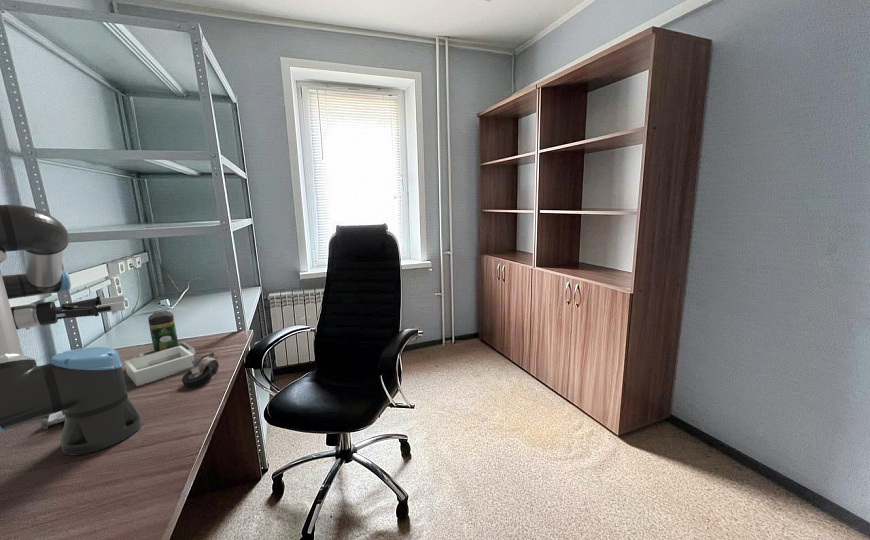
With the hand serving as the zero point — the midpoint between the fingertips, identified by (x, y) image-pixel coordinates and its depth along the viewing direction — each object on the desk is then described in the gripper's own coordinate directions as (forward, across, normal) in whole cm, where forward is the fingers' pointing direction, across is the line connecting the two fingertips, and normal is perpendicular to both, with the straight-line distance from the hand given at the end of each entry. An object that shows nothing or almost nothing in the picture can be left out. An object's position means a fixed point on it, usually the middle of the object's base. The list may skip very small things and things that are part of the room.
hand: (124, 301), depth 127 cm
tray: (+7, +14, -25) cm, 29 cm away
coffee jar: (+10, 0, -25) cm, 27 cm away
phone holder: (-14, +30, -25) cm, 41 cm away
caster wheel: (+17, +34, -25) cm, 45 cm away
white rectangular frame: (+10, 0, -25) cm, 27 cm away
